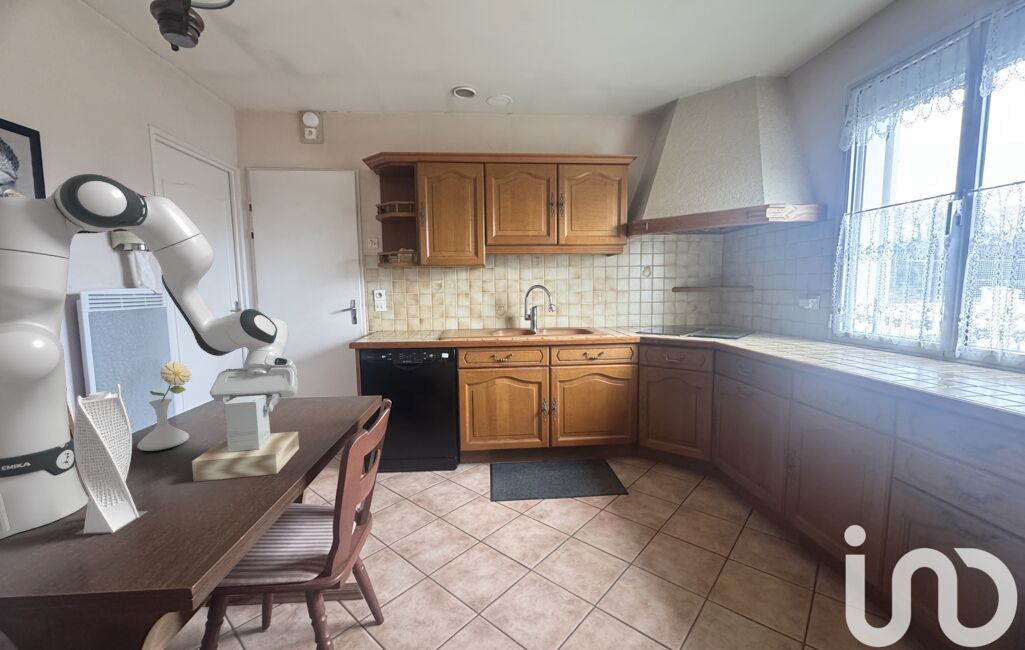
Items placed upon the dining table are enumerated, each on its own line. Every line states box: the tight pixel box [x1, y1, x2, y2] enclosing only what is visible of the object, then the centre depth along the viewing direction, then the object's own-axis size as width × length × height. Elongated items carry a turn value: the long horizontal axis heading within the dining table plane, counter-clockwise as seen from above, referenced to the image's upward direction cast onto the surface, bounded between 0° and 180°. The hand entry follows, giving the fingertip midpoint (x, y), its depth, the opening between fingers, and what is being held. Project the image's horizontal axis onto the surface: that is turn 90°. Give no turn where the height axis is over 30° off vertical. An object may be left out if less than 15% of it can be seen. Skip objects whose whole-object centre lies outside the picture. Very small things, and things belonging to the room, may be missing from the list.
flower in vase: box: [136, 361, 192, 452], centre depth 112 cm, size 13×11×25 cm
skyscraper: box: [73, 383, 148, 535], centre depth 73 cm, size 8×8×28 cm
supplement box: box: [223, 394, 271, 452], centre depth 99 cm, size 7×7×13 cm
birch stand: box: [191, 431, 300, 482], centre depth 100 cm, size 18×16×5 cm
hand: (248, 411), depth 99 cm, fingers open, 8 cm apart
